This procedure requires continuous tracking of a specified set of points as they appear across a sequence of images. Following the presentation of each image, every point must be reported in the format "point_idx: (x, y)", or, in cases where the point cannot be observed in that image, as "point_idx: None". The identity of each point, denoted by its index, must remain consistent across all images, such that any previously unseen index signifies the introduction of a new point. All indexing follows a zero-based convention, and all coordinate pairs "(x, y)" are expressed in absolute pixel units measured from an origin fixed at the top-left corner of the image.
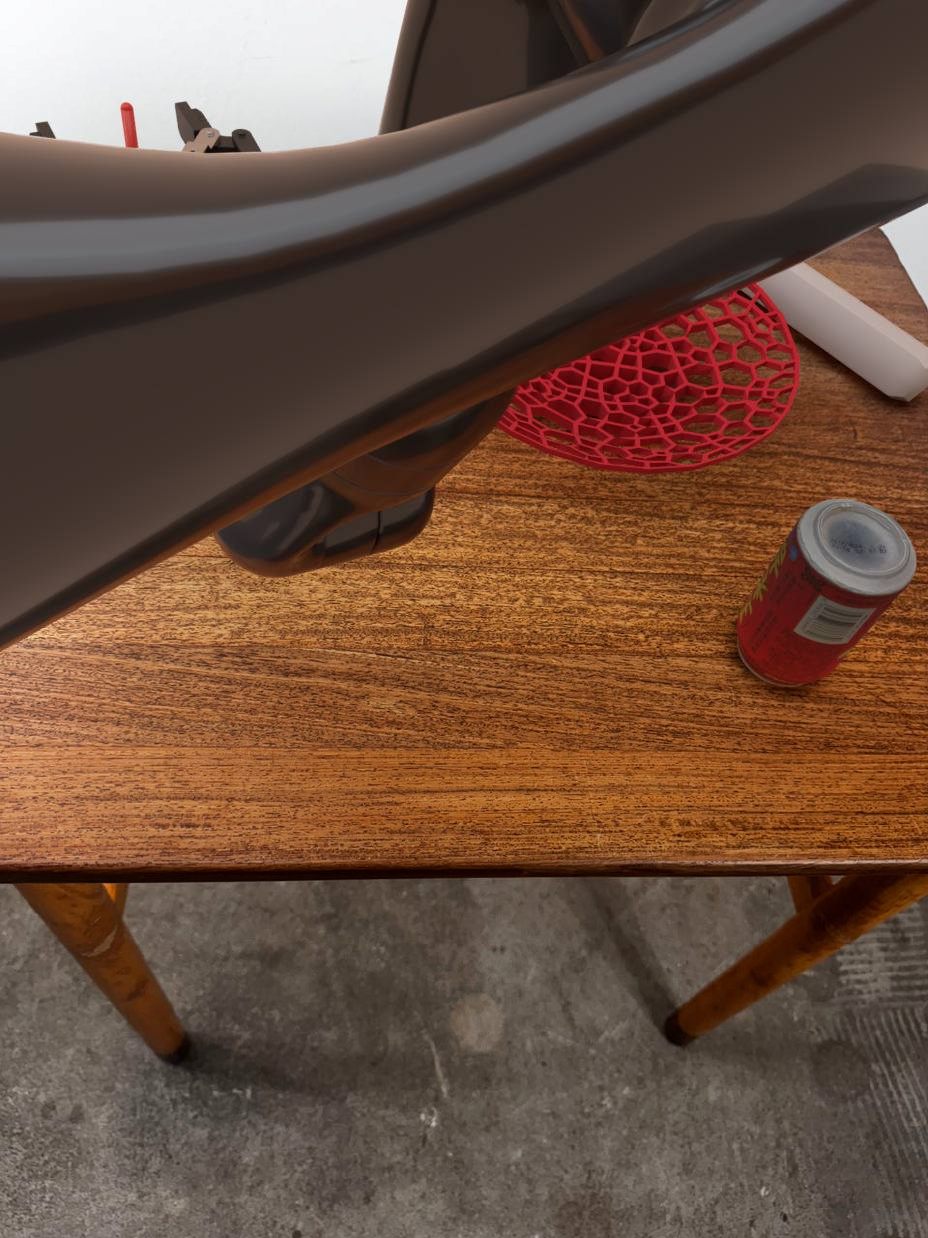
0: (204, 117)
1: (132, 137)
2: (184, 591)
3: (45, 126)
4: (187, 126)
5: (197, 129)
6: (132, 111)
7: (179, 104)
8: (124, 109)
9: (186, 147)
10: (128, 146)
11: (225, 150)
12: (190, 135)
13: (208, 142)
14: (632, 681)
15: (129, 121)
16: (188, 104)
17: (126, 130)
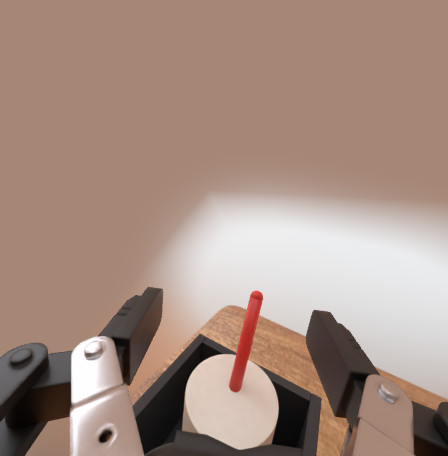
0: (355, 342)
1: (251, 324)
2: None
3: (152, 294)
4: (331, 350)
5: (358, 371)
6: (261, 301)
7: (321, 314)
8: (253, 297)
9: (362, 450)
10: (244, 330)
11: (423, 446)
12: (333, 366)
13: (397, 426)
14: None
15: (254, 309)
16: (333, 317)
17: (248, 316)
